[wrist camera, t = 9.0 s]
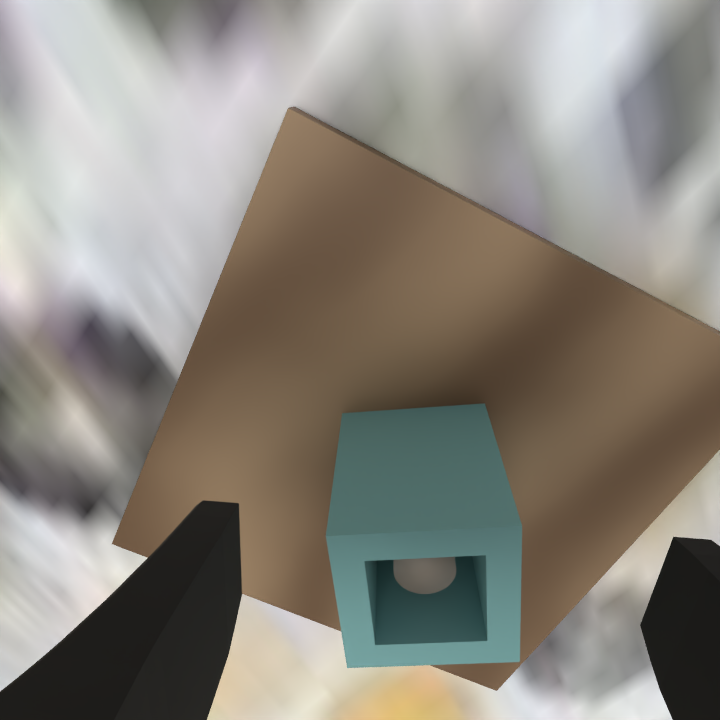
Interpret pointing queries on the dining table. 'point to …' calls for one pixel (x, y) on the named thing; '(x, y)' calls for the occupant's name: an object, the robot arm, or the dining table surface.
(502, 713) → the dining table surface
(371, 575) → the teal square sleeve
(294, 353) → the shaft base
